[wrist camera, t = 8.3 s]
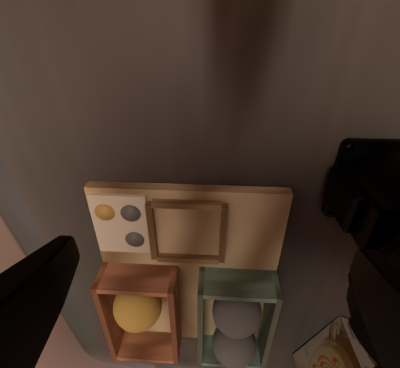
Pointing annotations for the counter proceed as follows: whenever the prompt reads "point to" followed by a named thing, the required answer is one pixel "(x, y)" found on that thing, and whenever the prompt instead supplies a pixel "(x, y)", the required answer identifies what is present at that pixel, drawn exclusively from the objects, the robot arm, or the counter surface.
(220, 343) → the slate ball
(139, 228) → the card
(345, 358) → the coffee box
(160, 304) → the ochre ball
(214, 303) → the slate ball
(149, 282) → the wooden sorting board
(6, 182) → the counter surface
